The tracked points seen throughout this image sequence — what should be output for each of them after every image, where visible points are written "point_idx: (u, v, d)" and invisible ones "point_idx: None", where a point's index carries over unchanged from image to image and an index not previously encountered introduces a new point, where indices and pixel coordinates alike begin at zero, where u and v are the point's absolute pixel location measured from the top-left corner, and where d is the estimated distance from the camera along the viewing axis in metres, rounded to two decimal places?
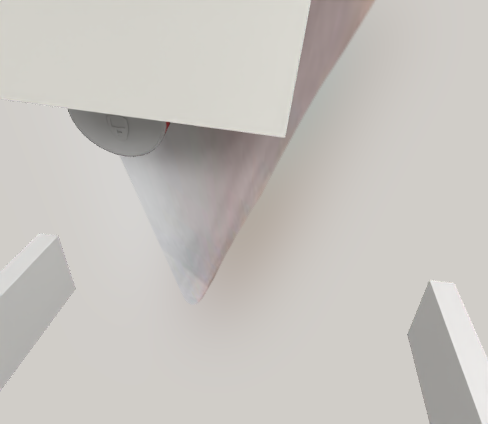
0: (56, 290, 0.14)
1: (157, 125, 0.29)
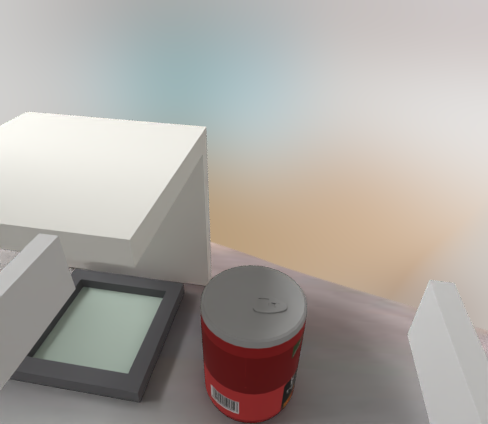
0: (56, 290, 0.14)
1: (262, 270, 0.30)
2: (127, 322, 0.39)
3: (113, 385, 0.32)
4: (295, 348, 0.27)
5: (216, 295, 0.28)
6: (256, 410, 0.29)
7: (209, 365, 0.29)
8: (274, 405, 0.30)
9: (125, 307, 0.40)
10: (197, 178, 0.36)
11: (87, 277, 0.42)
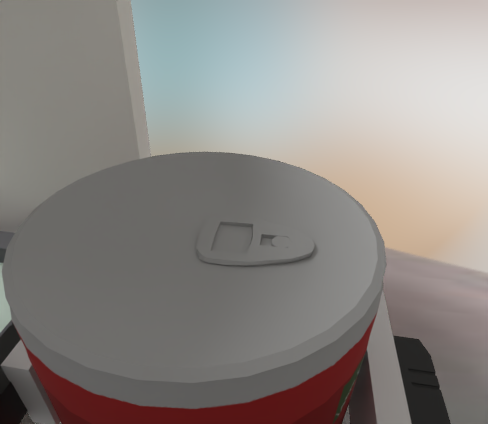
0: None
1: (237, 162, 0.11)
2: None
3: None
4: (346, 390, 0.08)
5: (85, 215, 0.09)
6: None
7: None
8: None
9: None
10: None
11: None
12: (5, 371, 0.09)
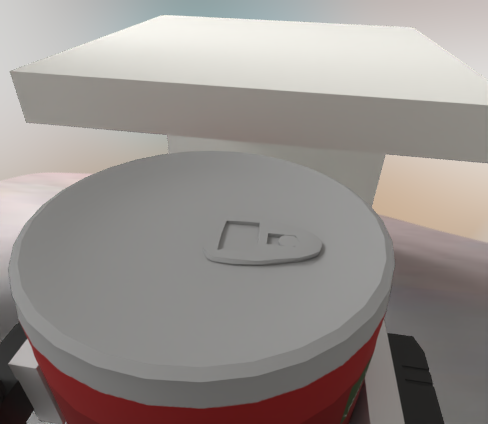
0: None
1: (243, 161, 0.11)
2: None
3: None
4: None
5: (91, 214, 0.09)
6: None
7: None
8: None
9: None
10: None
11: None
12: (12, 370, 0.09)
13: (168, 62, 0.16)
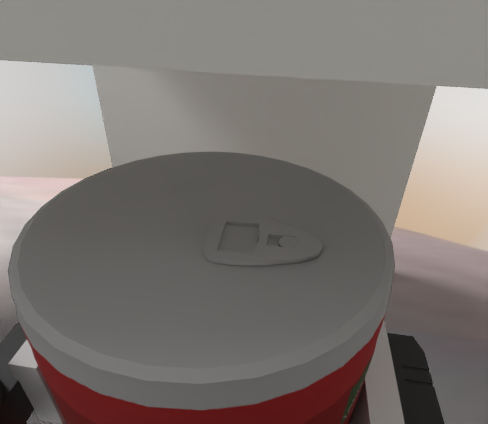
0: None
1: (243, 162, 0.11)
2: None
3: None
4: None
5: (91, 214, 0.09)
6: None
7: None
8: None
9: None
10: None
11: None
12: (12, 369, 0.09)
13: None
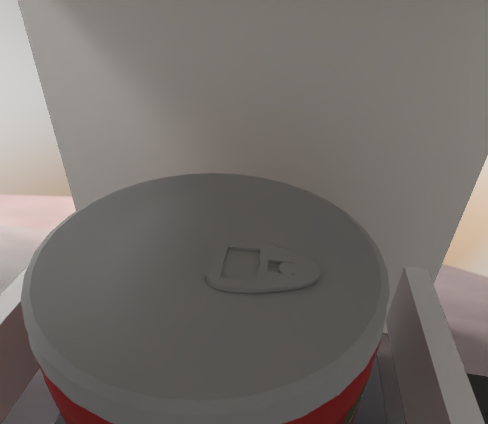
0: None
1: (244, 184, 0.11)
2: None
3: None
4: (351, 414, 0.08)
5: (98, 239, 0.09)
6: None
7: None
8: None
9: None
10: None
11: None
12: None
13: None
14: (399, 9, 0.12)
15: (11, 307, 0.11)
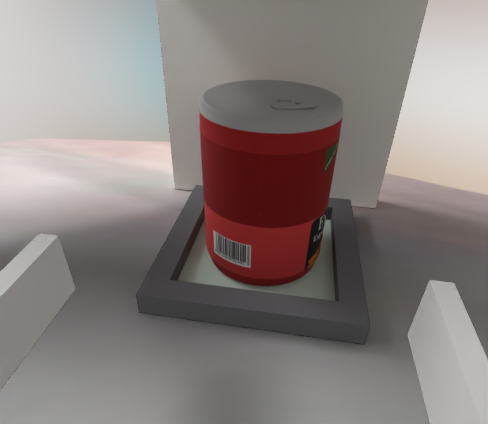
0: (56, 290, 0.14)
1: (280, 83, 0.23)
2: None
3: (326, 316, 0.20)
4: (328, 156, 0.20)
5: (221, 97, 0.21)
6: (274, 259, 0.22)
7: (211, 196, 0.22)
8: (297, 255, 0.22)
9: None
10: (412, 22, 0.24)
11: None
12: None
13: None
14: (356, 0, 0.24)
15: None
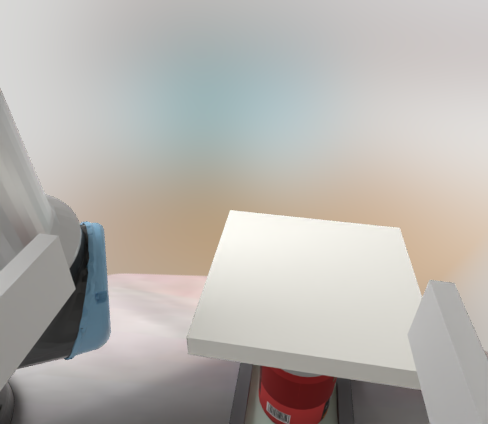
0: (56, 290, 0.14)
1: None
2: None
3: None
4: None
5: None
6: (303, 421, 0.38)
7: (268, 387, 0.38)
8: (316, 417, 0.38)
9: None
10: None
11: None
12: None
13: (262, 316, 0.29)
14: None
15: None
